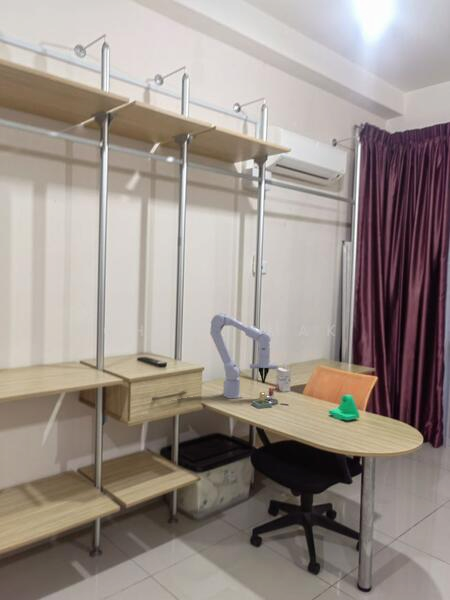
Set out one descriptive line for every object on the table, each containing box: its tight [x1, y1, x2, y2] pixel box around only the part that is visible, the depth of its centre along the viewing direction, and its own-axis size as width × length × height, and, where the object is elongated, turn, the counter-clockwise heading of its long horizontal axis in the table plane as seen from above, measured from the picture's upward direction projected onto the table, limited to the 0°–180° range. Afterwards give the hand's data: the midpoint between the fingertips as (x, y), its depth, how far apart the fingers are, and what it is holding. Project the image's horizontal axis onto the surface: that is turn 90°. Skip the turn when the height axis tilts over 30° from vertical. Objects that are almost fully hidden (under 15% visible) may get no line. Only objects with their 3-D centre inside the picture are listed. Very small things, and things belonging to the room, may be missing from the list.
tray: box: [251, 399, 273, 409], centre depth 237 cm, size 7×7×2 cm
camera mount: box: [328, 394, 360, 421], centre depth 220 cm, size 12×8×10 cm, turn 32°
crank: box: [265, 387, 275, 401], centre depth 246 cm, size 10×4×4 cm, turn 158°
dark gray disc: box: [255, 397, 279, 406], centre depth 244 cm, size 11×11×1 cm
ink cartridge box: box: [275, 362, 292, 393], centre depth 271 cm, size 9×5×15 cm, turn 22°
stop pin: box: [259, 391, 266, 404], centre depth 237 cm, size 3×3×6 cm
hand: (263, 382), depth 250 cm, fingers closed
